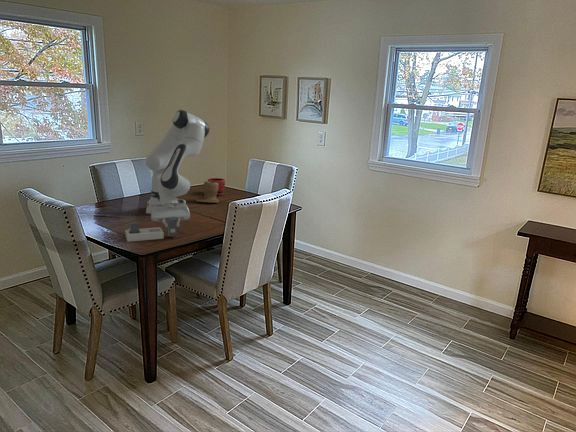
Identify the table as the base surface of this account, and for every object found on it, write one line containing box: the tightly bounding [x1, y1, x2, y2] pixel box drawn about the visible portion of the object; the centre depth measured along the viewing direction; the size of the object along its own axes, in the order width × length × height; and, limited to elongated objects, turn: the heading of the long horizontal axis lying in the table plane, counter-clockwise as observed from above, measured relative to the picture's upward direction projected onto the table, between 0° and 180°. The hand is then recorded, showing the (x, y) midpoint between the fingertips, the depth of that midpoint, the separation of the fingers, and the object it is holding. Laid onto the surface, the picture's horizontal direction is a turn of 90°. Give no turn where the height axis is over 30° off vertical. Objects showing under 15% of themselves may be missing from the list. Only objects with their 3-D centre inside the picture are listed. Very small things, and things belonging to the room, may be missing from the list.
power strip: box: [125, 221, 165, 243], centre depth 231 cm, size 19×18×8 cm
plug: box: [167, 218, 178, 237], centre depth 229 cm, size 3×4×9 cm
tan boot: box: [196, 180, 220, 204], centre depth 305 cm, size 15×12×15 cm
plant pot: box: [207, 177, 226, 197], centre depth 329 cm, size 13×13×12 cm
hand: (172, 226), depth 229 cm, fingers closed on plug, 4 cm apart
